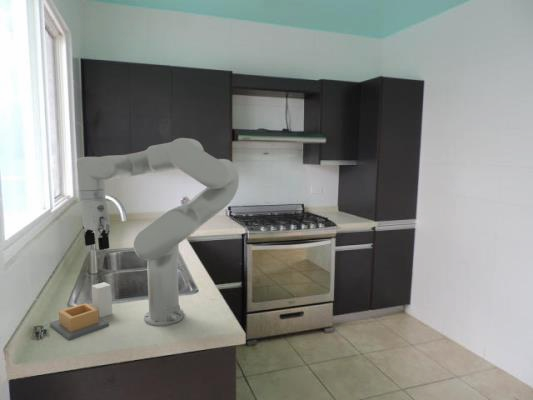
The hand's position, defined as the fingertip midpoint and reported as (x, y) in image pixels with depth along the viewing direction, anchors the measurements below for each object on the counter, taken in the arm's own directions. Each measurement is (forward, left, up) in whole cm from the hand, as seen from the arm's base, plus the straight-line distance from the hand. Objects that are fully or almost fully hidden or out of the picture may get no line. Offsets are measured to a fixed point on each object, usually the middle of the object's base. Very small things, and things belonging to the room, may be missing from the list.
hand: (97, 246), depth 125 cm
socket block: (-3, +9, -23) cm, 25 cm away
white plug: (0, 0, -23) cm, 23 cm away
